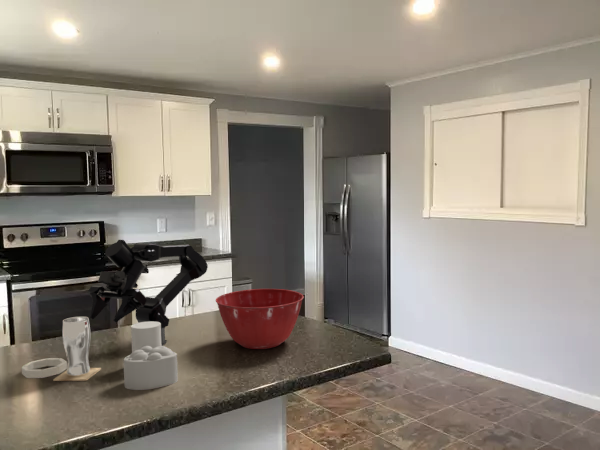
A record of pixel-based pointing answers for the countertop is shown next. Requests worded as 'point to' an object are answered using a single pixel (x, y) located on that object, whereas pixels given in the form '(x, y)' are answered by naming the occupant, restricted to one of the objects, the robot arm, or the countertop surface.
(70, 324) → the beer glass
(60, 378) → the coaster
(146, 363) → the lumpy-topped squat cylinder
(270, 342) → the mixing bowl
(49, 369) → the holder ring
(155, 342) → the cup
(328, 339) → the countertop surface
